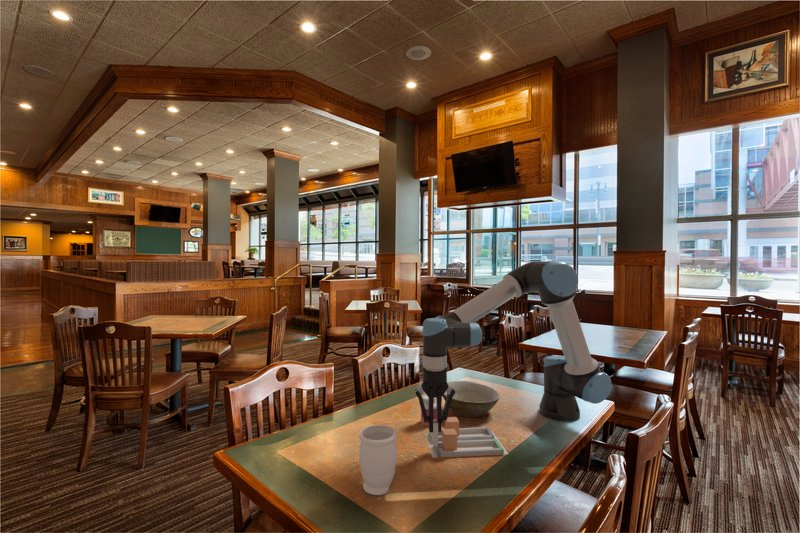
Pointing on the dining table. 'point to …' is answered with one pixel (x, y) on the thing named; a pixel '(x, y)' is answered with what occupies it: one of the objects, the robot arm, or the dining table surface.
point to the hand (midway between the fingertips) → (435, 441)
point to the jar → (377, 458)
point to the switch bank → (468, 443)
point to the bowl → (472, 398)
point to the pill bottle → (425, 400)
